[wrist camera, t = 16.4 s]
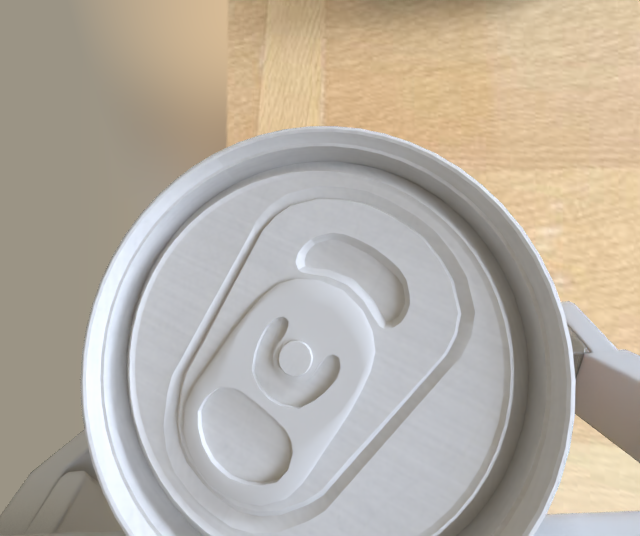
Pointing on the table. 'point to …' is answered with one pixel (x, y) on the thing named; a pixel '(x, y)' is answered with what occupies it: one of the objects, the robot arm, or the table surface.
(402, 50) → the table surface
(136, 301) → the beer can
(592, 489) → the table surface
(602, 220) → the table surface
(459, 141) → the table surface
